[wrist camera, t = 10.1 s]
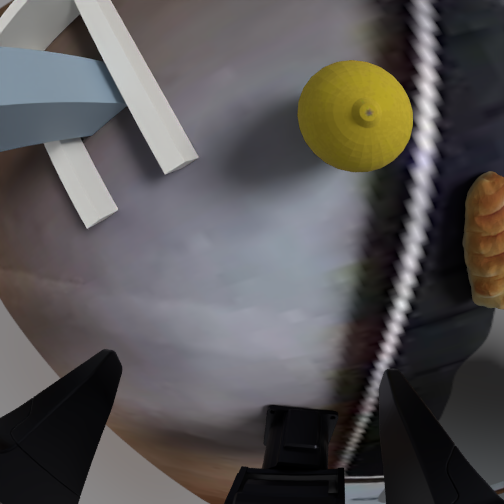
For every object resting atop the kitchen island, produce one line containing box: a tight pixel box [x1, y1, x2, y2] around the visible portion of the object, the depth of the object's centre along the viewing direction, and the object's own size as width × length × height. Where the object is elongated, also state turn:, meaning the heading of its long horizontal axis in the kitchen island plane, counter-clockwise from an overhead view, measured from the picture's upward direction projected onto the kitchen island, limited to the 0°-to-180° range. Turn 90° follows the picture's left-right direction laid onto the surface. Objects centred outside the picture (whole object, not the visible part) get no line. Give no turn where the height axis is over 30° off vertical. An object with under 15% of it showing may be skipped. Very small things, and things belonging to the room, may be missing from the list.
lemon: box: [297, 60, 413, 172], centre depth 14 cm, size 6×6×8 cm
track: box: [0, 0, 199, 229], centre depth 17 cm, size 18×9×6 cm, turn 29°
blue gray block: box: [0, 47, 127, 152], centre depth 14 cm, size 4×4×13 cm
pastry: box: [462, 171, 504, 309], centre depth 17 cm, size 9×7×4 cm
